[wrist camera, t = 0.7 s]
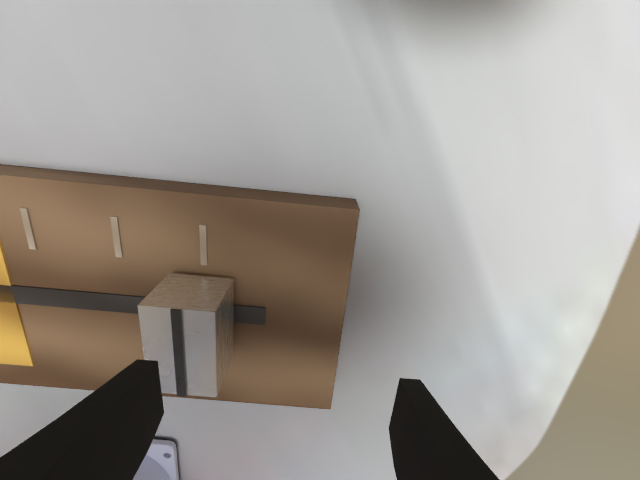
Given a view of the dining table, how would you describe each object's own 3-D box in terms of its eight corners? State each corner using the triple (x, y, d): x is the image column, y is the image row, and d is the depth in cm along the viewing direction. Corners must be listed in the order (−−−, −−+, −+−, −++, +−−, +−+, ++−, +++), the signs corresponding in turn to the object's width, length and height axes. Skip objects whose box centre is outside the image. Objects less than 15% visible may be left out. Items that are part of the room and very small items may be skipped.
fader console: (329, 382, 21) (330, 410, 19) (-91, 348, 20) (-136, 373, 18) (355, 199, 16) (359, 210, 14) (-178, 146, 16) (-250, 151, 14)
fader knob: (233, 353, 17) (216, 399, 14) (175, 348, 17) (146, 393, 14) (233, 278, 15) (214, 313, 13) (169, 273, 15) (136, 306, 12)
